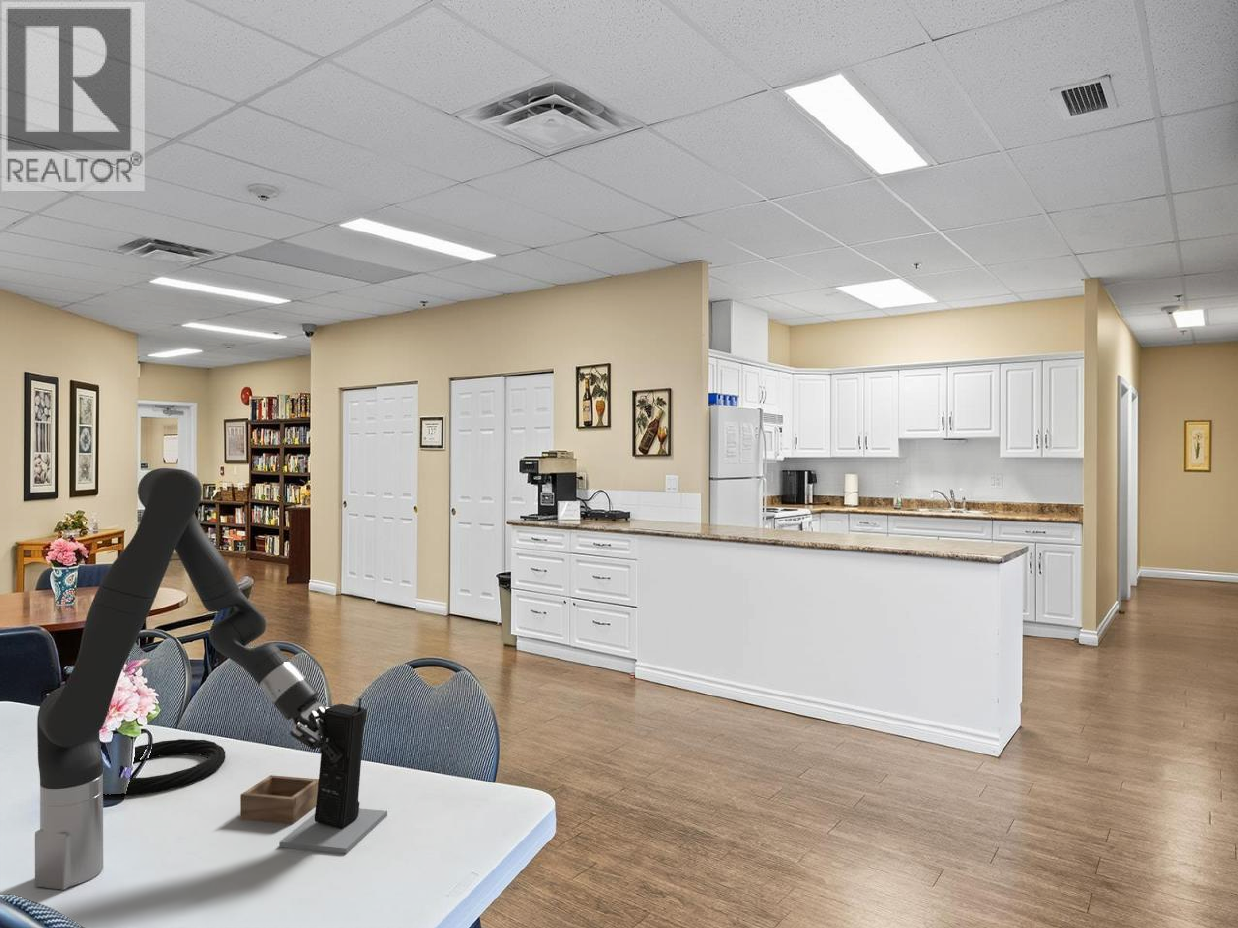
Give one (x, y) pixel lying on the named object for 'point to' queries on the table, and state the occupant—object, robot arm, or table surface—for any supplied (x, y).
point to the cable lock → (180, 777)
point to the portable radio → (341, 767)
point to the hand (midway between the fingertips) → (344, 754)
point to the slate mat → (333, 833)
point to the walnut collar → (279, 799)
